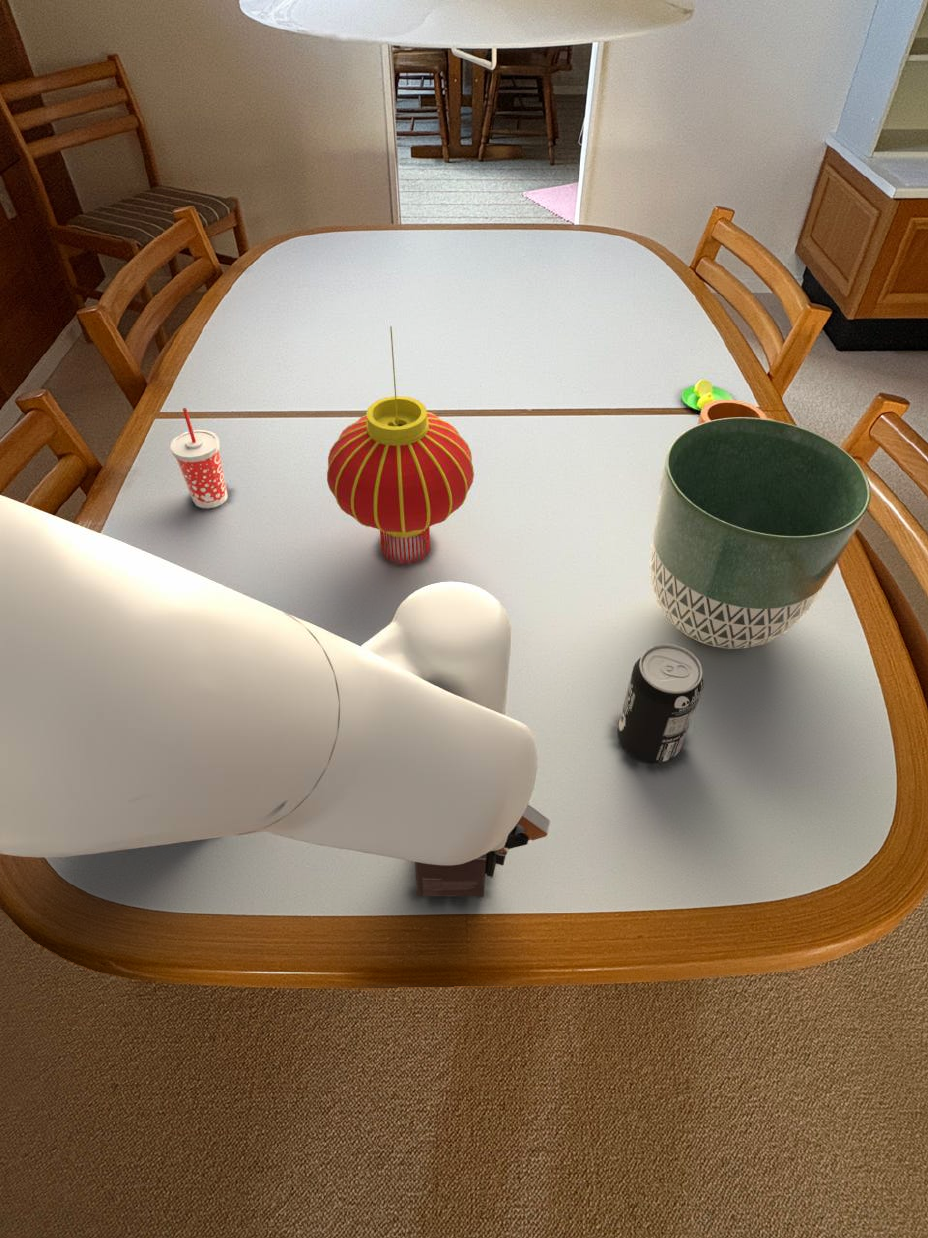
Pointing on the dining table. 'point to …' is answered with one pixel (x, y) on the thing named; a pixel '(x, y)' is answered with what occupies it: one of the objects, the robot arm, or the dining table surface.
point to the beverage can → (660, 703)
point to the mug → (729, 410)
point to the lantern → (400, 471)
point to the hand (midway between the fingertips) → (451, 850)
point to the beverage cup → (201, 465)
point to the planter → (750, 527)
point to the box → (451, 879)
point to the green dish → (703, 394)
